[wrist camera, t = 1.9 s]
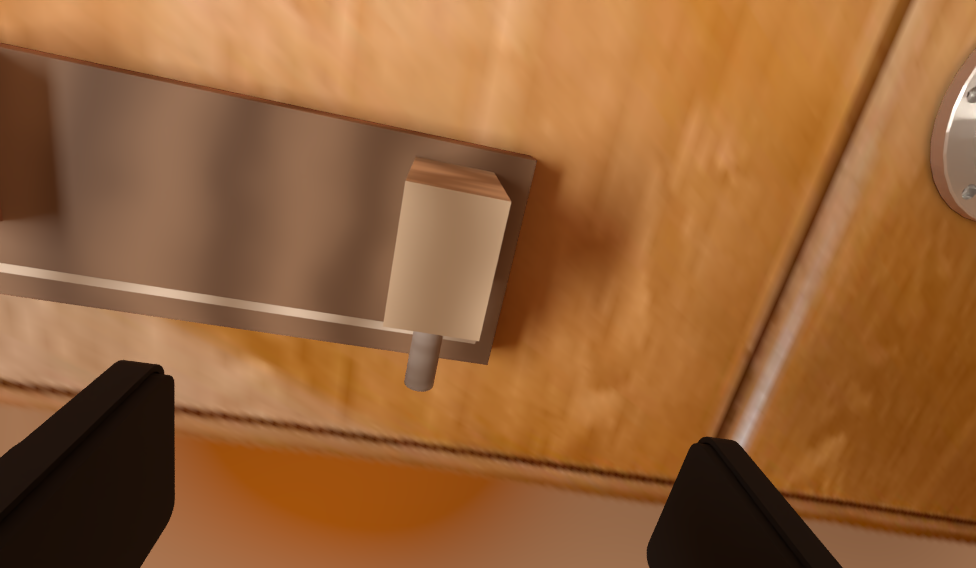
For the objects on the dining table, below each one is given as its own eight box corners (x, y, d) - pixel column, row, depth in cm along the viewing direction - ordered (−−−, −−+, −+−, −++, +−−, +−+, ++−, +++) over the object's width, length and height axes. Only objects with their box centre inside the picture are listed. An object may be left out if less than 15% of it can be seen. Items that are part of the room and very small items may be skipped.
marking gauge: (494, 172, 25) (511, 201, 19) (457, 344, 29) (460, 420, 22) (415, 156, 25) (405, 180, 18) (387, 334, 28) (370, 408, 22)
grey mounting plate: (530, 155, 27) (548, 169, 22) (484, 348, 31) (491, 394, 27) (-56, 31, 23) (-183, 16, 18) (-20, 272, 27) (-116, 310, 22)
